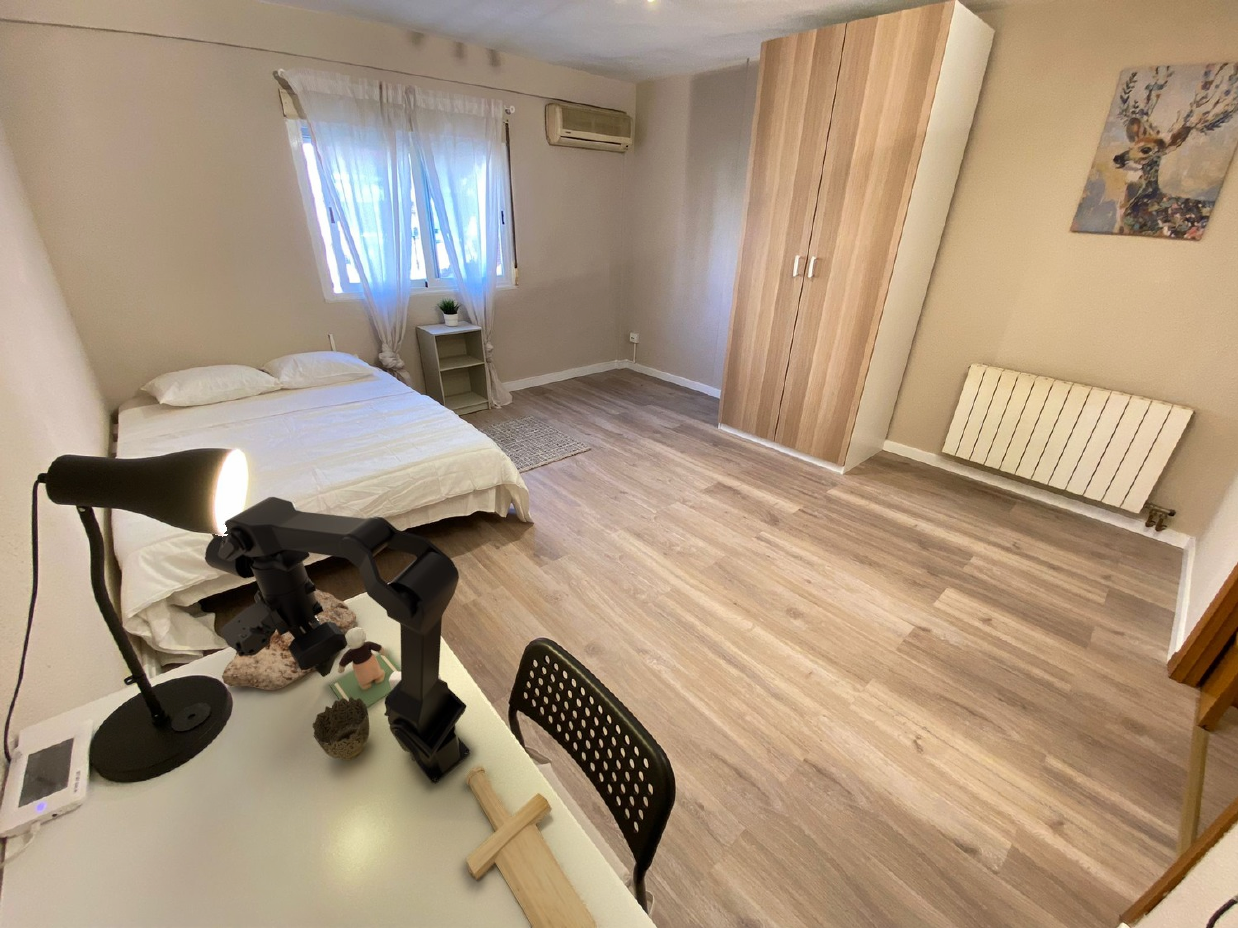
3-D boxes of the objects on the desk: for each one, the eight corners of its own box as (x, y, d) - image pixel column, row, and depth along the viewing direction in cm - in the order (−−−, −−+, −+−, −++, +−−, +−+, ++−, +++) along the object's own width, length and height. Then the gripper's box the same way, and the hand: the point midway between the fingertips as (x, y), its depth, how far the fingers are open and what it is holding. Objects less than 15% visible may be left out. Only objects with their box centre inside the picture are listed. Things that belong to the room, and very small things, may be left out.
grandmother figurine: (385, 662, 93) (370, 612, 87) (395, 674, 91) (380, 624, 85) (342, 688, 88) (323, 637, 82) (351, 702, 86) (333, 651, 80)
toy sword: (438, 809, 73) (559, 1046, 53) (432, 800, 71) (555, 1041, 52) (511, 750, 79) (642, 943, 60) (507, 740, 77) (642, 935, 58)
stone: (214, 683, 89) (279, 722, 86) (202, 654, 84) (270, 694, 81) (321, 598, 107) (378, 628, 104) (316, 570, 103) (375, 601, 99)
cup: (326, 738, 81) (313, 706, 77) (376, 721, 84) (366, 689, 80) (324, 782, 75) (310, 750, 71) (378, 762, 78) (367, 730, 74)
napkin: (408, 679, 91) (408, 678, 91) (352, 717, 84) (352, 716, 84) (384, 652, 96) (384, 650, 96) (330, 685, 89) (329, 684, 89)
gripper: (197, 579, 71) (235, 655, 79) (238, 652, 61) (278, 732, 68) (284, 543, 79) (311, 616, 86) (334, 602, 68) (360, 679, 76)
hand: (314, 657), depth 79 cm, fingers open, 9 cm apart
